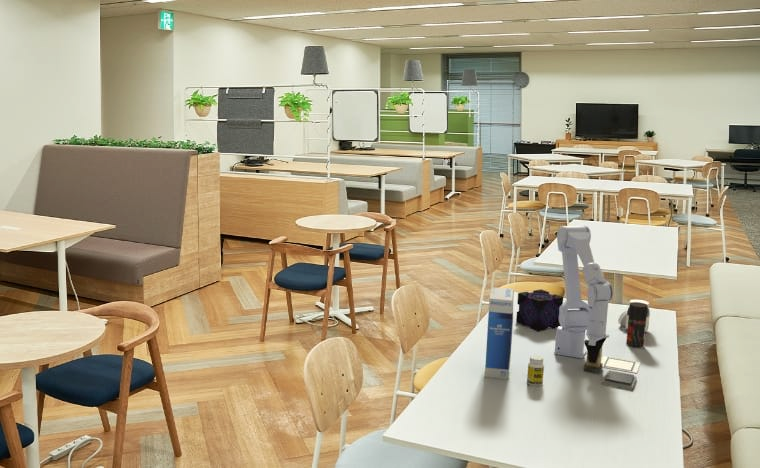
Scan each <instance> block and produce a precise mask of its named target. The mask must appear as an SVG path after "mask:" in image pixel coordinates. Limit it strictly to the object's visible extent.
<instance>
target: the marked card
mask: <svg viewBox="0 0 760 468" xmlns="http://www.w3.org/2000/svg"><path fill="white" fill-rule="evenodd" d="M601 363H603V367H602V368H605V369H610V370H614V371H621V372H625V373H627V372H628V373H631V374H637V373H638V372H639V369H640V366H641V362H639V361H633V360H626V359H622V358H616V357H610V356H605V355H604V356H602V357H601Z"/></svg>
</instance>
